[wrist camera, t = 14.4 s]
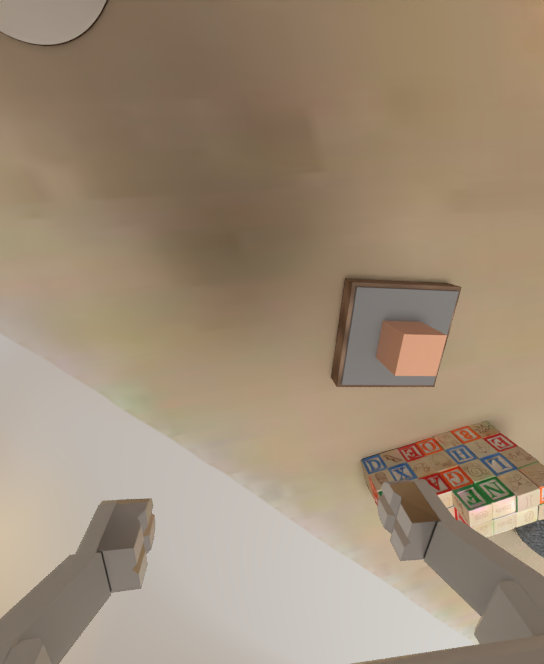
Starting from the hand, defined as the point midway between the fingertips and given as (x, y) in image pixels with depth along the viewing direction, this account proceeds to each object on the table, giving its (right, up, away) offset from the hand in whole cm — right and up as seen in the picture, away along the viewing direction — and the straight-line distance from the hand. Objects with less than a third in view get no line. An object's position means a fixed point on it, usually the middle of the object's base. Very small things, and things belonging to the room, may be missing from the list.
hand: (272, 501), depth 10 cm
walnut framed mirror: (+16, +6, +30) cm, 34 cm away
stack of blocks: (+25, -14, +38) cm, 48 cm away
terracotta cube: (+16, +5, +27) cm, 32 cm away
